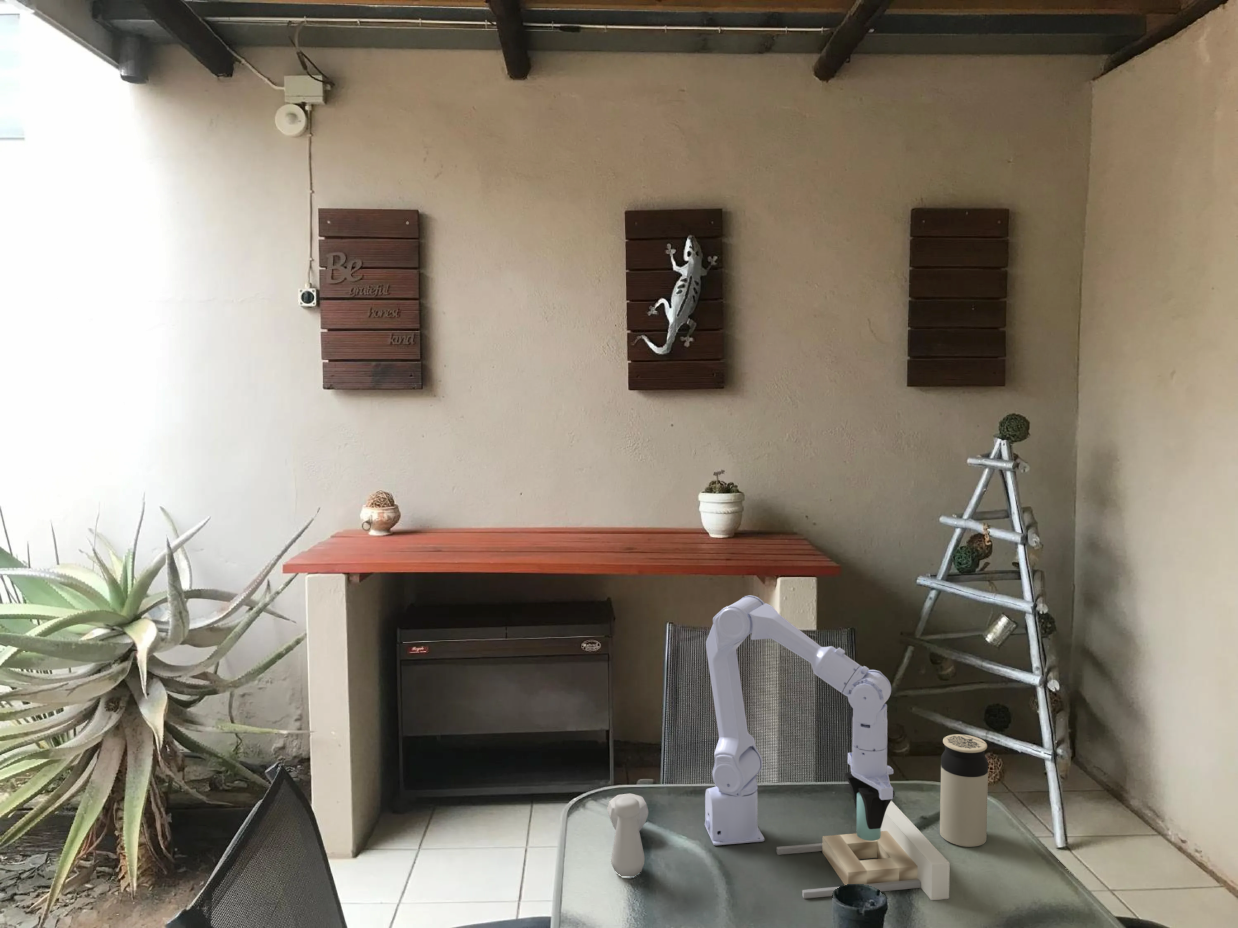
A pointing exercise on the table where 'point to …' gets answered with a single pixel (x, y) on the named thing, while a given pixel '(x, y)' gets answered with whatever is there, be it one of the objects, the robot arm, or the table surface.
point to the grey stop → (916, 846)
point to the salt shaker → (627, 839)
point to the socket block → (884, 869)
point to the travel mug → (964, 790)
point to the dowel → (865, 823)
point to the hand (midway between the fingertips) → (868, 821)
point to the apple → (640, 817)
